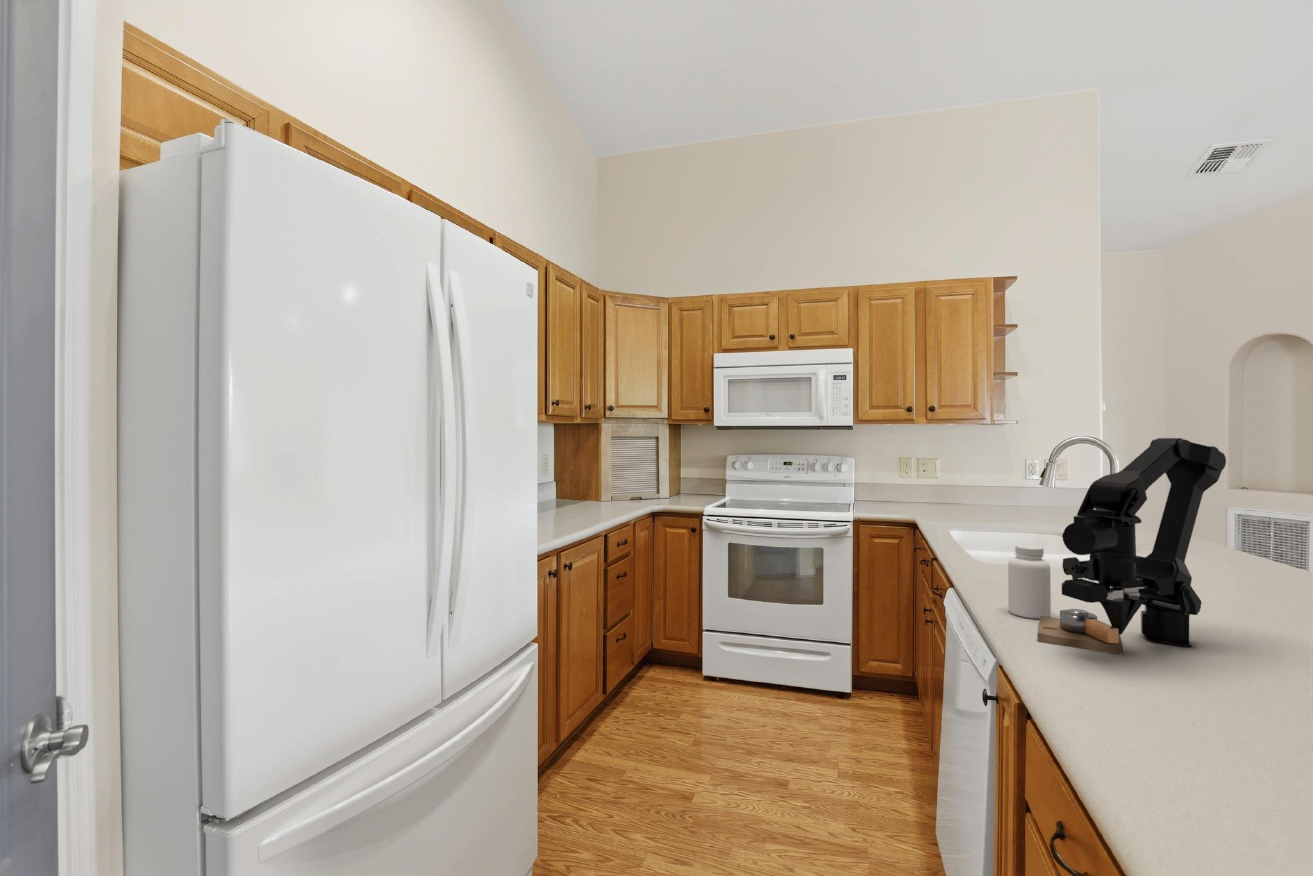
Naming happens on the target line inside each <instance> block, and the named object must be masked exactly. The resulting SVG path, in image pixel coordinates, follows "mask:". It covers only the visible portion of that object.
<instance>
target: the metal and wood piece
mask: <svg viewBox="0 0 1313 876" xmlns="http://www.w3.org/2000/svg"><path fill="white" fill-rule="evenodd" d="M1059 618H1060V627H1061V628H1063V629H1065V630H1068V631H1072V632H1077V633H1085V634H1089V635H1091V636H1093V637H1096V638H1098V639H1100V640H1102V641H1104V642H1107V643H1119V635H1118V628H1116V627H1114V626H1112V625H1111V624H1108V623H1106V622H1103V621H1101V620H1098V615H1097V614H1095V613H1093V612H1092V613H1091V612H1090V611H1087V610H1084V609H1081V608H1080V609H1079V608H1069V609H1062V610H1060V611H1059Z"/></svg>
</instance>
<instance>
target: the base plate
mask: <svg viewBox="0 0 1313 876" xmlns="http://www.w3.org/2000/svg"><path fill="white" fill-rule="evenodd" d="M1118 635H1119V643H1107V642H1104V641H1102V640H1100V639H1098V638H1096V637H1093V636H1091V635H1089V634H1085V633H1077V632H1072V631H1068V630H1065V629H1063V628H1061V627H1060V617H1052V616H1050V617H1045V616H1040V619H1039V620H1038V627H1037V642H1041V643H1047V644H1048V643H1049V644H1053V645H1060V646H1065V647H1072V648H1077V649H1078V648H1079V649H1083V650H1091V651H1095V652H1096V651H1097V652H1102V653H1103V652H1104V653H1111V654H1116V655H1120V656H1124V645H1123V642H1122V641H1123V640H1122V638H1121V634H1118Z"/></svg>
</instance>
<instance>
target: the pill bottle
mask: <svg viewBox="0 0 1313 876" xmlns="http://www.w3.org/2000/svg"><path fill="white" fill-rule="evenodd" d="M1014 549H1015V551H1014V552H1015V553H1014V555H1015V556H1014V557H1011V558H1009V561H1008V563H1007V573H1008V574H1007V575H1008V576H1007V577H1008V579H1007V580H1008V581H1007V582H1008V583H1007V586H1008V589H1007V591H1008V594H1007V595H1008V597H1007V598H1008V611H1009V613H1011V614H1012V615H1015V616H1018V617H1021V618H1027V619H1035V620H1037V619H1040V616H1045V617H1051V614H1052V613H1051V611H1052V609H1051V607H1052V606H1051V605H1052V602H1051V600H1052V599H1051V587H1052V586H1051V565H1050V564H1049V562H1048V561H1047V560H1046V559H1044V558H1043V557H1044V547H1043V546H1039V545H1033V544H1031V545H1030V544H1017V545H1015V546H1014Z"/></svg>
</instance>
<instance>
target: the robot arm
mask: <svg viewBox="0 0 1313 876" xmlns="http://www.w3.org/2000/svg"><path fill="white" fill-rule="evenodd" d="M1226 465H1227V458H1226V455H1225V453H1224V452H1222V451H1220V450H1219V448H1217V446H1213V445H1212V446H1210V445H1209V446H1208V445H1204V444H1201V443H1195V442H1191V441H1190V440H1188V439H1183V438H1182V437H1179V438H1178V437H1176V438H1175V437H1172V438H1171V437H1158V438H1156V439H1154V438H1153V440H1152V441H1151V442H1150V444H1149V446H1148V447H1147V448H1146V449H1144V451H1142V452H1141V453H1140V454H1139V455H1138V456H1136V457H1135V458H1134V459H1133V460H1132V461H1131V462H1130V463H1128V464H1127V466H1125V467H1124V468H1123V469H1121V470H1119V471H1118V472H1114V473H1110V474H1107V475H1103V476H1102V477H1100V478H1098V479H1096V480H1094V481H1093V482H1092V483H1091V484H1090V485H1089V488H1088V489H1087V491H1086V493H1085V496H1084V498H1083V500H1082V503H1081V504H1080V507H1079V509H1078V511H1077V513H1076V515H1073V523H1069V524H1068V525H1067V526H1066V527H1065V528H1064V530H1063V533H1062V536H1061V537H1062V541H1063V544H1064V546H1065V548H1067V550H1069V551H1070V552H1072V553H1073V554H1075V555H1078V556H1086V555H1089V559H1088V560H1081V561H1080V560H1079V558H1077V557H1076V556H1073V557H1072V556H1071V557H1065V558H1063V559H1062V570H1063V573H1064V575H1066V576H1071V578H1072V579H1065V580H1064V581H1063V582H1062V583H1061V595H1062V596H1065V597H1069V598H1071V599H1074V600H1079V601H1082V602H1084V603H1092V604H1093V603H1100V604H1101V606H1102V608H1103V610H1104V612H1105V613H1106V615H1107V618H1108V621H1109V623H1110V625H1111V626H1114V627H1116V628H1118V634H1120V635H1123V633H1124V632H1125V630H1126V629H1127V627H1128V625H1129V623H1130V622H1131V621H1132V619H1133V617H1134V616H1135V614H1136V613H1137V612H1138V610H1139V609H1140V608H1141V607H1142V605H1143V606H1144V610H1141V611H1140V632H1141V634H1142V635H1143V636H1144V637H1145V640H1146V641H1148V642H1153V643H1154V642H1155V643H1161V644H1168V645H1176V646H1181V647H1187V648H1188V647H1189V648H1191V647H1192V643H1191V641H1190V615H1192V616H1197V615H1199V613H1200V612H1201V608H1202V600H1201V599H1200V597H1199V595H1198V594H1197V593H1196V591H1195V589H1193V587H1192V580H1193V577H1192V575H1191V573H1190V571H1189V568H1188V567H1187V564H1186V557H1187V554H1188V550H1189V548H1190V547H1189V546H1190V543H1191V539H1192V535H1193V531H1194V528H1195V524H1196V521H1197V516H1198V513H1199V509H1200V505H1201V502H1202V498H1203V494H1204V493H1205V492H1206V491H1207V490H1208V489H1210V488H1211V487H1213V486H1214V485H1215V484H1217V482H1218V481H1219V480H1220V477H1221V473H1222V471H1223V470H1224V469H1225V468H1226ZM1164 474H1165V475H1166V477H1167V480H1168V481H1169V483H1170V487H1169V491H1168V493H1167V498H1166V501H1165V504H1164V509H1163V512H1162V514H1161V515H1162V516H1161V519H1160V522H1159V527H1158V530H1157V534H1156V537H1155V541H1154V544H1153V548H1152V551H1151V552H1150V553H1149V554H1148V555H1147V556H1144V557H1143V556H1141V555H1137V546H1136V545H1137V541H1136V537H1137V536H1136V524H1137V525H1138V524H1141V523H1142V519H1141V518H1140V517H1139V516H1138V515H1136V514H1137V513H1138V511H1139V510H1140V509H1141V508H1142V507H1143V505H1144V504H1145V503H1146V502H1147V500H1148V496H1147V490H1148V489H1149V488H1150V487H1151V486H1152V485H1153V484H1154V483H1155V482H1156V481H1158V479H1160V478H1161V477H1162V476H1163V475H1164Z"/></svg>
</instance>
